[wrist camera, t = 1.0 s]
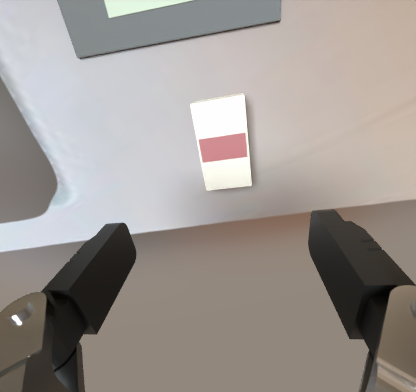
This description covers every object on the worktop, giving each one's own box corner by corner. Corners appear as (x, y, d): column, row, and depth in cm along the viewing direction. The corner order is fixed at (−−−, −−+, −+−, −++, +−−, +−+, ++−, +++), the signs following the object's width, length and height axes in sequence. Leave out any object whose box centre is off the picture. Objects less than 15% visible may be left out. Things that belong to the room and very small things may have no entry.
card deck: (242, 92, 23) (244, 94, 19) (248, 172, 27) (251, 186, 23) (195, 101, 23) (189, 104, 20) (209, 176, 27) (206, 191, 24)
